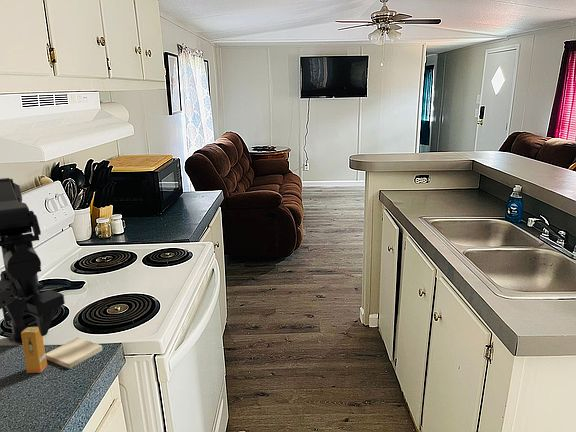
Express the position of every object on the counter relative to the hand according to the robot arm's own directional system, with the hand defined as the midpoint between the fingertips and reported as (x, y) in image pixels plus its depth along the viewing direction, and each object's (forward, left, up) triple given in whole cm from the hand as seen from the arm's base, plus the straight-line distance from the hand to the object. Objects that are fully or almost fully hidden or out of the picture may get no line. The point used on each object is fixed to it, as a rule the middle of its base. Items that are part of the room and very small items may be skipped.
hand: (31, 330), depth 99 cm
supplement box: (0, 0, -10) cm, 10 cm away
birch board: (+2, +8, -10) cm, 13 cm away
